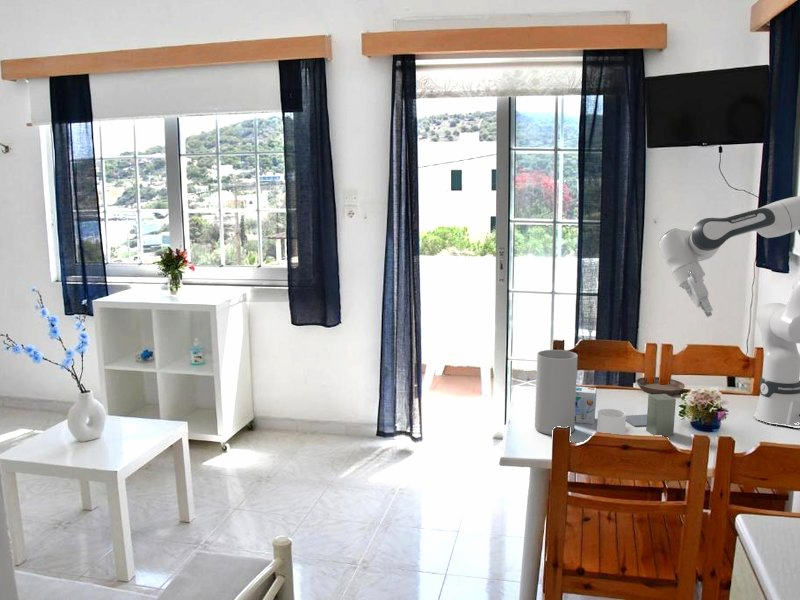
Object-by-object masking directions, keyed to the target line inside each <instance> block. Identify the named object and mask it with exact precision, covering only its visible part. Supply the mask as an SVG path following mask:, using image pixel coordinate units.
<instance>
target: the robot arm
mask: <svg viewBox="0 0 800 600" xmlns="http://www.w3.org/2000/svg"><path fill="white" fill-rule="evenodd" d="M751 232H757V233H758V234H759V235H760V236H761V237H764V238H766V239H770V238H777V237H781V236H785V235H787V234H791V233H794V232H797V233H798V234H799V235H798V236H800V195H799V196H793V197H792V196H791V197H788V198H784V199H783V198H782V199H780V200H776V201H774V202H771V203H768V204H766V205H763V206H761V207H759V208H756V209H753V210H748V211H746V212H741V213H739V214H735V215H732V216H728V217H705V218H703V219H700V220H699V221H698V222H696V224H694V227H693V229H691V230H690V229H689V230H684V229H679V227H676V228H675V227H674V228H672V229H670V230H668V231H667V232H666V233H664V234H663V235H662V236H661V238H660V239H659V241H658V246H659V250H660V252H661V255H662V256H663V259H664V261H665V262H666V264H667V265H668V266H669V267H670V270H671V274H672V275H673V278H674V280H675V281H676V283H677V285H678V287H681V288H682V290H685V291H686V293H687V295H688V297H689V298H690V299H691V301H692V302H693V303H694V305H695V306H696V307H697V308H700V309H701V310H702V312H703V313H704V315H705V317H706V318H710V317H711V316H712V314H713V313H712V312H713V307H712V305H711V302H710V299H709V291H708V288H707V286H706V284H704V282H705V281H704V280H705V279H704V277H705V276H706V273H705V271H704V269H703V268H702V265H701V263H700V262H702V261H706V260H709V259H711V258H712V257H714V256H715V255H716V254H717V252H718V250H719V249H720V248H721V246H722V245H724V243H725V242H727V241H728V240H730V239H731V238H734V237H737V236H740V235H743V234H748V233H751ZM791 289H792V292H791V296H790V298H789V301H788V302H787V304H784V303H780V302H770V303H766V304H764V305H762V306H761V307H760V308H759V309H758V310H757V313H756V323H757V325H758V326H759V329H760V334H761V340H762V341H761V342H762V347H763V349H762V350H763V364H762V375H761V377H760V382H759V398H758V401H757V405H756V407H755V408H756V409H755V410H754V411H755V412H754V413H753V416H755V417H756V418H758V419H760V420H763V421H766V422H771V423H778V424H786V425H791V426H800V424H799V425H795V424H794V423H797V422H799V423H800V353H799V349H798V347H797V344H800V274H799V275H798V277H797V278H796V279H795V281H794V282H793V283H792V286H791ZM797 424H798V423H797Z"/></svg>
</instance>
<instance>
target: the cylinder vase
mask: <svg viewBox="0 0 800 600" xmlns="http://www.w3.org/2000/svg"><path fill="white" fill-rule="evenodd" d="M536 359H537V360H536V380H535V381H536V382H535V383H536V384H535V386H536V387H535V407H534V408H535V411H534V414H535V415H534V428H535V429H536V431H537V432H540V433H541V434H545V435H549V436H552V435H551V434H552V430H553V428H554V427H557V426H561V427H567V426H569V427H571V433H570V434H572V433H573V432H574V430H575V424H576V422H575V401H576V386H577V380H578V379H577V378H578V377H577V374H578V354H577V353H576V352H574V351H573V352H572V351H569V350H563V349H546V350H540V351H538V352H537V355H536Z"/></svg>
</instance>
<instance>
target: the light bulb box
mask: <svg viewBox="0 0 800 600" xmlns="http://www.w3.org/2000/svg"><path fill="white" fill-rule="evenodd" d="M596 407H597V387H587V386H577V385H576V401H575V423H580V424H588V425H594V424H595V419H596Z"/></svg>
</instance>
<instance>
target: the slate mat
mask: <svg viewBox="0 0 800 600" xmlns="http://www.w3.org/2000/svg"><path fill="white" fill-rule="evenodd" d="M626 423H628V424H629V425H631V426H632V427H634V428H636V427H637V428H638V427H646V426H647V413H645V414H632V415H630V414H629V415H626Z"/></svg>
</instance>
